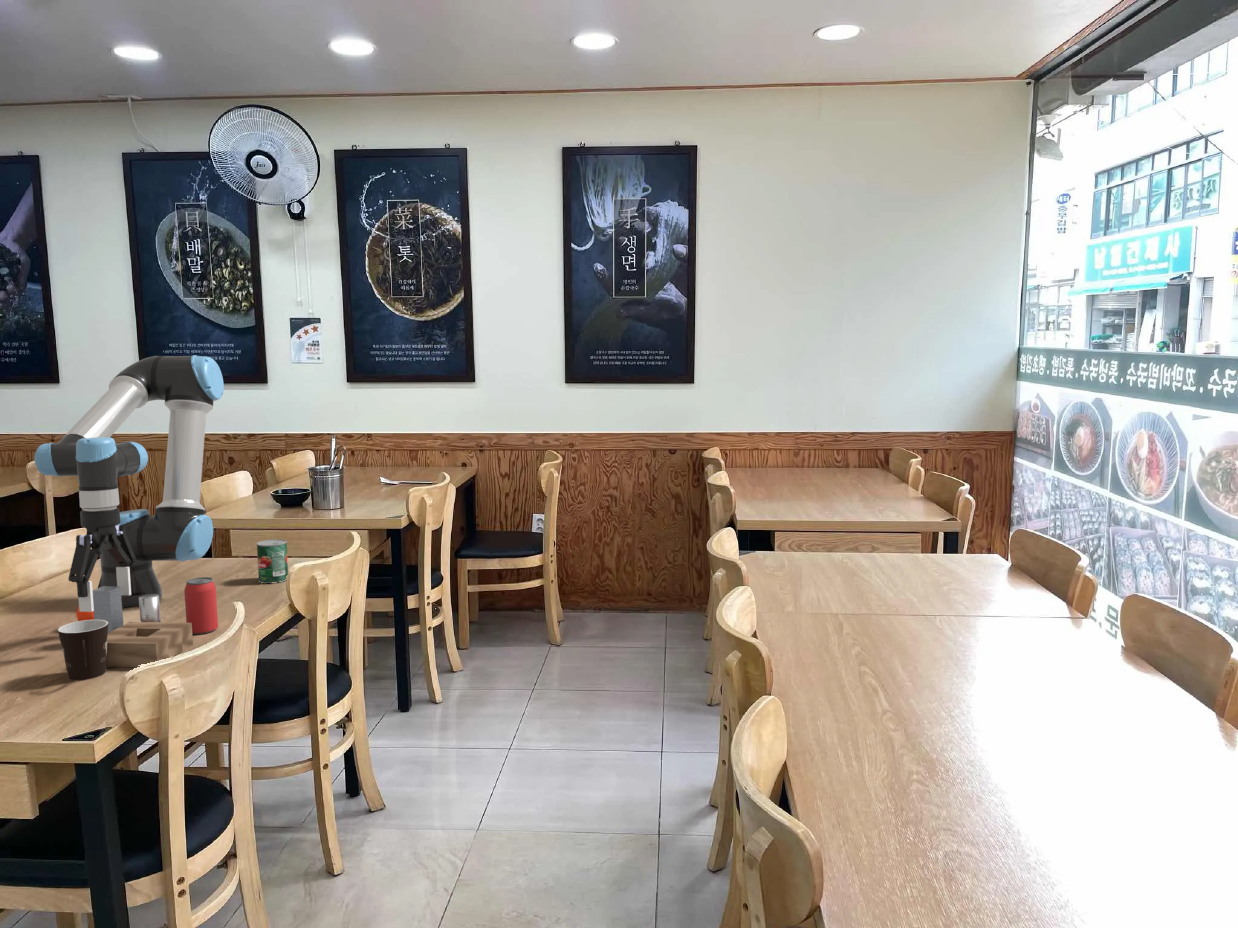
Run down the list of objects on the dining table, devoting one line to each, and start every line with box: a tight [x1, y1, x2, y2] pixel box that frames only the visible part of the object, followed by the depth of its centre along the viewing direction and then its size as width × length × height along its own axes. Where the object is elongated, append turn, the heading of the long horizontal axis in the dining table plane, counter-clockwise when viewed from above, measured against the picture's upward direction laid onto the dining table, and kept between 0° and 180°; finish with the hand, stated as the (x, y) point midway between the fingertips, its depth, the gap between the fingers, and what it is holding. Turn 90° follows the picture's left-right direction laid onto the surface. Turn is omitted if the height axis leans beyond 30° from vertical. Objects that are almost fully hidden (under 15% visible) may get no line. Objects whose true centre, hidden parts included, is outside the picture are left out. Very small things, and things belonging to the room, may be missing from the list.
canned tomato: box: [256, 538, 289, 583], centre depth 251 cm, size 8×8×11 cm
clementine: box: [76, 606, 94, 622], centre depth 209 cm, size 8×7×7 cm
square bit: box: [92, 586, 124, 633], centre depth 199 cm, size 4×4×12 cm
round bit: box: [138, 594, 162, 622], centre depth 199 cm, size 4×4×10 cm
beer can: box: [184, 576, 219, 635], centre depth 206 cm, size 7×7×12 cm
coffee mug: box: [57, 620, 108, 681], centre depth 177 cm, size 12×9×10 cm
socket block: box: [106, 621, 194, 668], centre depth 190 cm, size 14×14×5 cm
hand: (106, 602), depth 198 cm, fingers open, 13 cm apart
